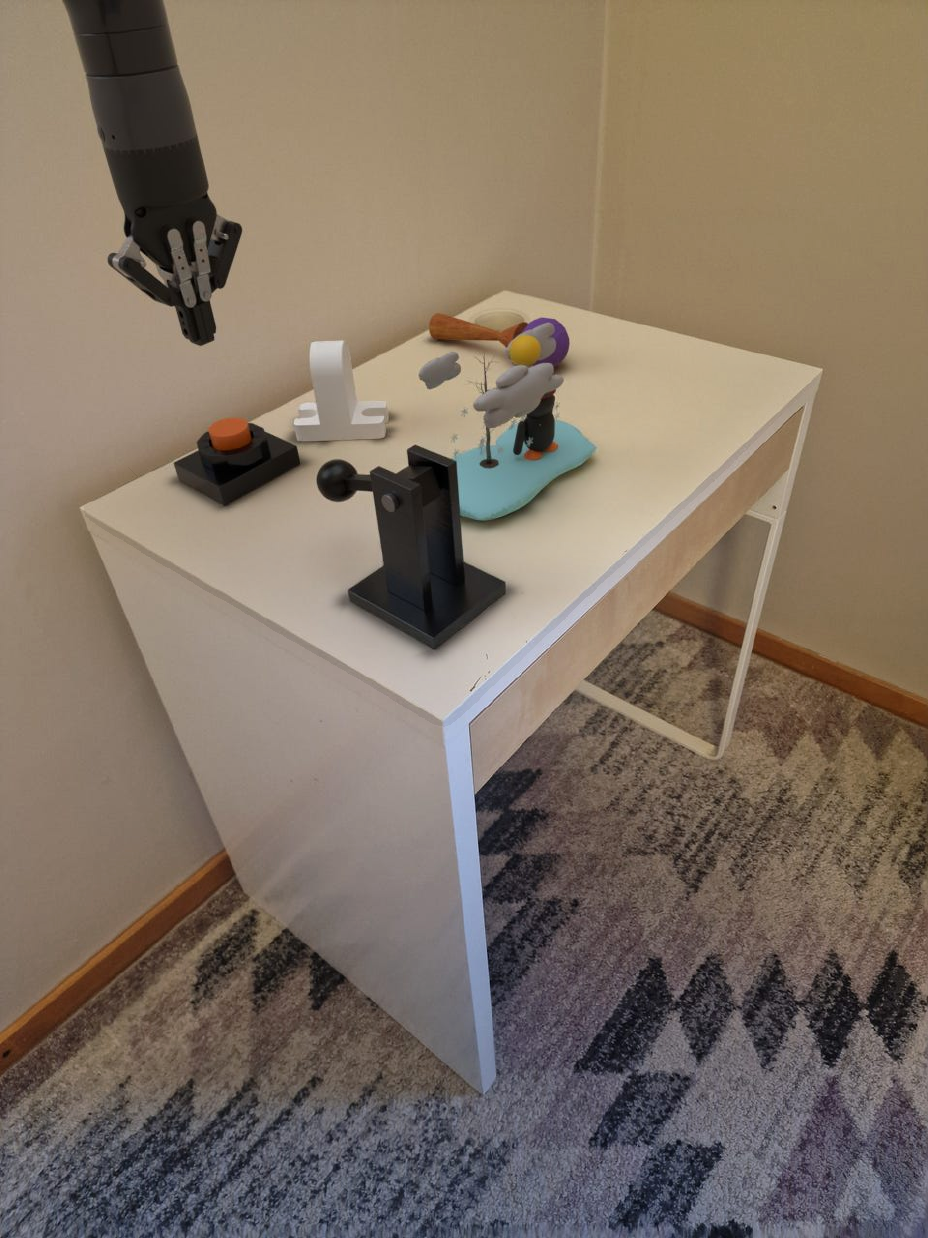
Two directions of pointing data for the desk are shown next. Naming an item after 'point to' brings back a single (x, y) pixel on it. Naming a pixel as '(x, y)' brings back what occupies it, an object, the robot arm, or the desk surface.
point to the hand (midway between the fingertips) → (202, 341)
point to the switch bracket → (423, 557)
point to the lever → (369, 481)
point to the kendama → (498, 334)
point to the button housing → (236, 465)
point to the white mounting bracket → (337, 400)
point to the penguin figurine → (514, 430)
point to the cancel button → (230, 433)
